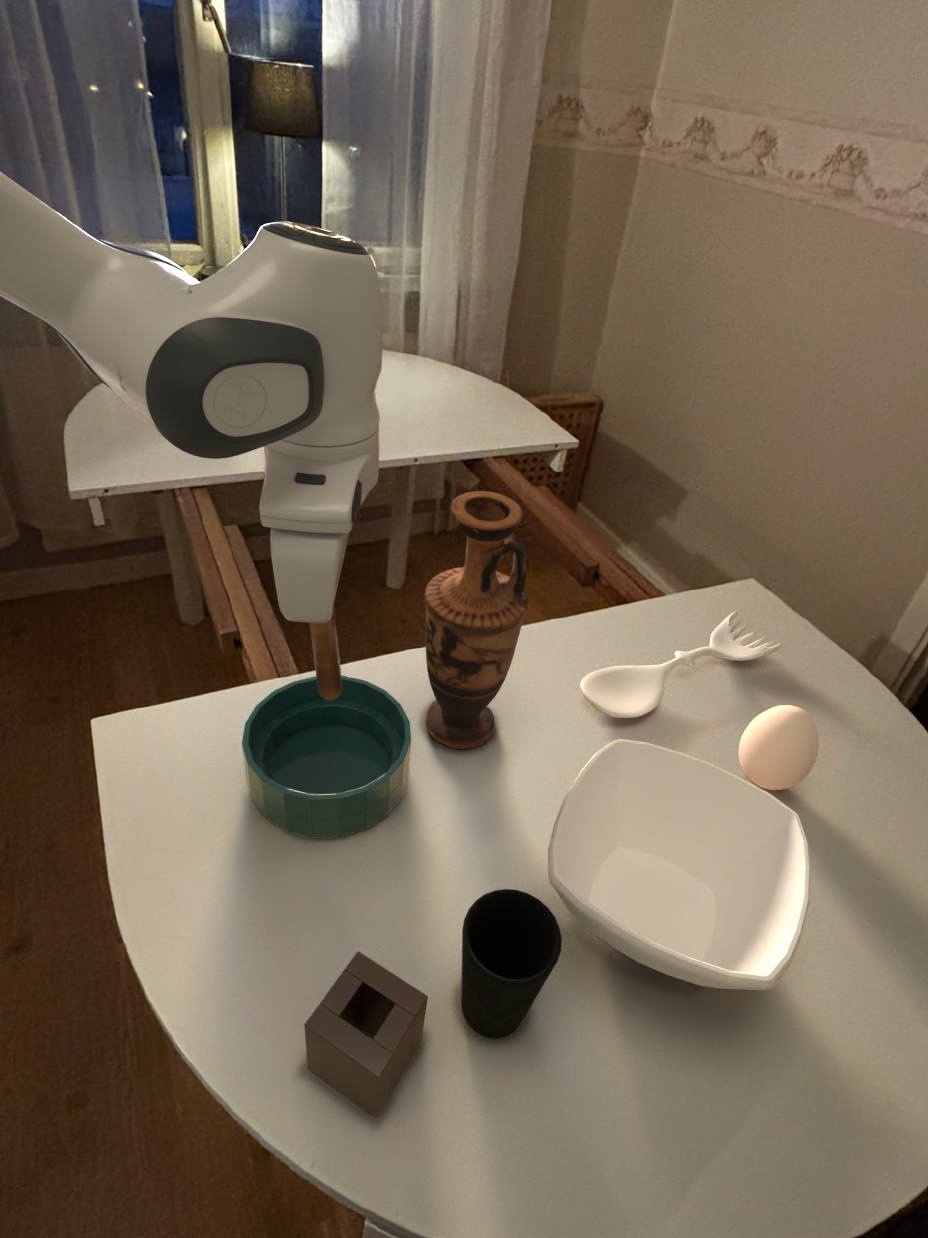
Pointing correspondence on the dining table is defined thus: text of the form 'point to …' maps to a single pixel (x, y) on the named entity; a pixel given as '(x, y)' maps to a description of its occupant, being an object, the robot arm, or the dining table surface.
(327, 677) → the stick
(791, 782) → the egg
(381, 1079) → the holder
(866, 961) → the dining table surface
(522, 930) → the cup
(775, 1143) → the dining table surface
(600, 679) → the spoon
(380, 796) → the mixing bowl
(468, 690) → the vase
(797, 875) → the bowl
